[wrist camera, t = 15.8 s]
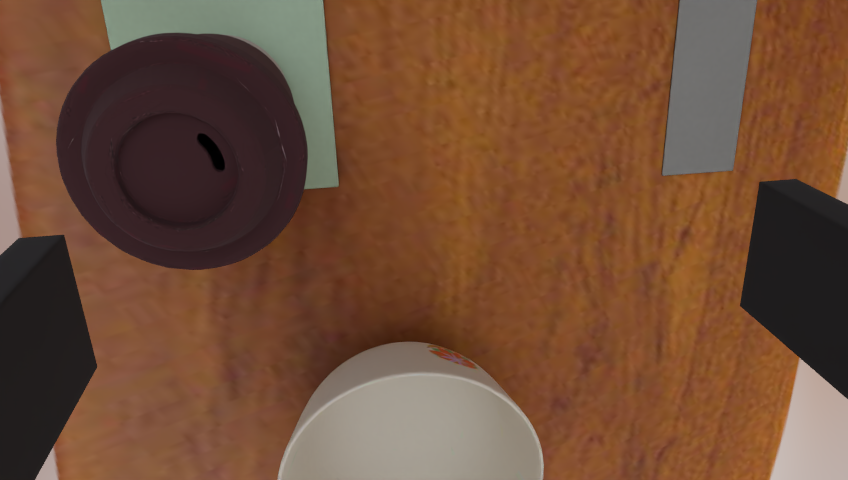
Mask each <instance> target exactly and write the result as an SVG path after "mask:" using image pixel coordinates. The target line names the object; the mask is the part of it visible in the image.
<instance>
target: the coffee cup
mask: <svg viewBox="0 0 848 480" xmlns="http://www.w3.org/2000/svg"><path fill="white" fill-rule="evenodd" d="M56 145H57V157H58V163H59V168H60V172H61V176H62V179H63V181H64V184H65V186H66V189H67V191H68V193H69V195H70V197H71V199H72V200H73V202H74V204H75V205H76V207H77V208H78V210H79V212H80V213H81V215H82V216H83V217H84V218H85V219H86V220H87V221H88V222H89V224H90V225H91V226H92V227H93V228H94V229H95V230H96V231H97V232H98V233H99V234H100V235H102V236H103V237H104V238H106V239H107V240H108V241H109V242H111V243H112V244H113V245H115V246H116V247H118V248H119V249H121V250H122V251H124V252H126V253H128V254H130V255H132V256H134V257H137V258H139V259H141V260H144V261H146V262H149V263H152V264H156V265H160V266H164V267H168V268H177V269H188V270H202V269H210V268H216V267H221V266H225V265H229V264H233V263H236V262H238V261H241V260H243V259H245V258H247V257H249V256H251V255H253V254H255V253H256V252H258V251H260V250H261V249H263V248H264V247H265V246H267V245H268V244H269V243H271V242H272V241H273V240H274V239H275V238H276V237H277V236H278V235H279V234H280V233H281V231H282V230H283V229H284V228H285V227H286V225H287V224H288V223H289V222H290V220H291V218H292V217H293V215H294V213H295V211H296V209H297V207H298V205H299V203H300V200H301V197H302V194H303V191H304V187H305V181H306V175H307V164H308V148H307V140H306V134H305V130H304V126H303V123H302V120H301V117H300V115H299V112H298V110H297V108H296V106H295V104H294V100H293V96H292V93H291V90H290V87H289V85H288V83H287V81H286V78H285V76H284V74H283V72H282V70H281V68H280V67H279V65H278V64H277V63H276V61H275V60H274V59H273V58H272V57H271V56H270V55H269V54H268V53H267V52H266V51H265V50H264V49H262V48H261V47H259V46H258V45H256V44H254V43H253V42H251V41H249V40H246V39H244V38H241V37H237V36H233V35H225V34H191V33H161V34H154V35H149V36H145V37H141V38H138V39H136V40H133V41H130V42H127V43H125V44H123V45H121V46H119V47H117V48H115V49H113V50H111V51H109V52H108V53H106V54H104V55H103V56H101V57H100V58H99V59H97V60H96V61H95V62H93V63H92V64H91V65H90V66H89V67H88V68H87V69H86V70H85V71H84V72H83V73H82V74H81V76H80V77H79V78H78V79H77V81H76V82H75V83H74V85H73V86H72V88H71V90H70V91H69V93H68V95H67V97H66V99H65V102H64V104H63V106H62V110H61V113H60V117H59V121H58V127H57V138H56Z"/></svg>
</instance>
